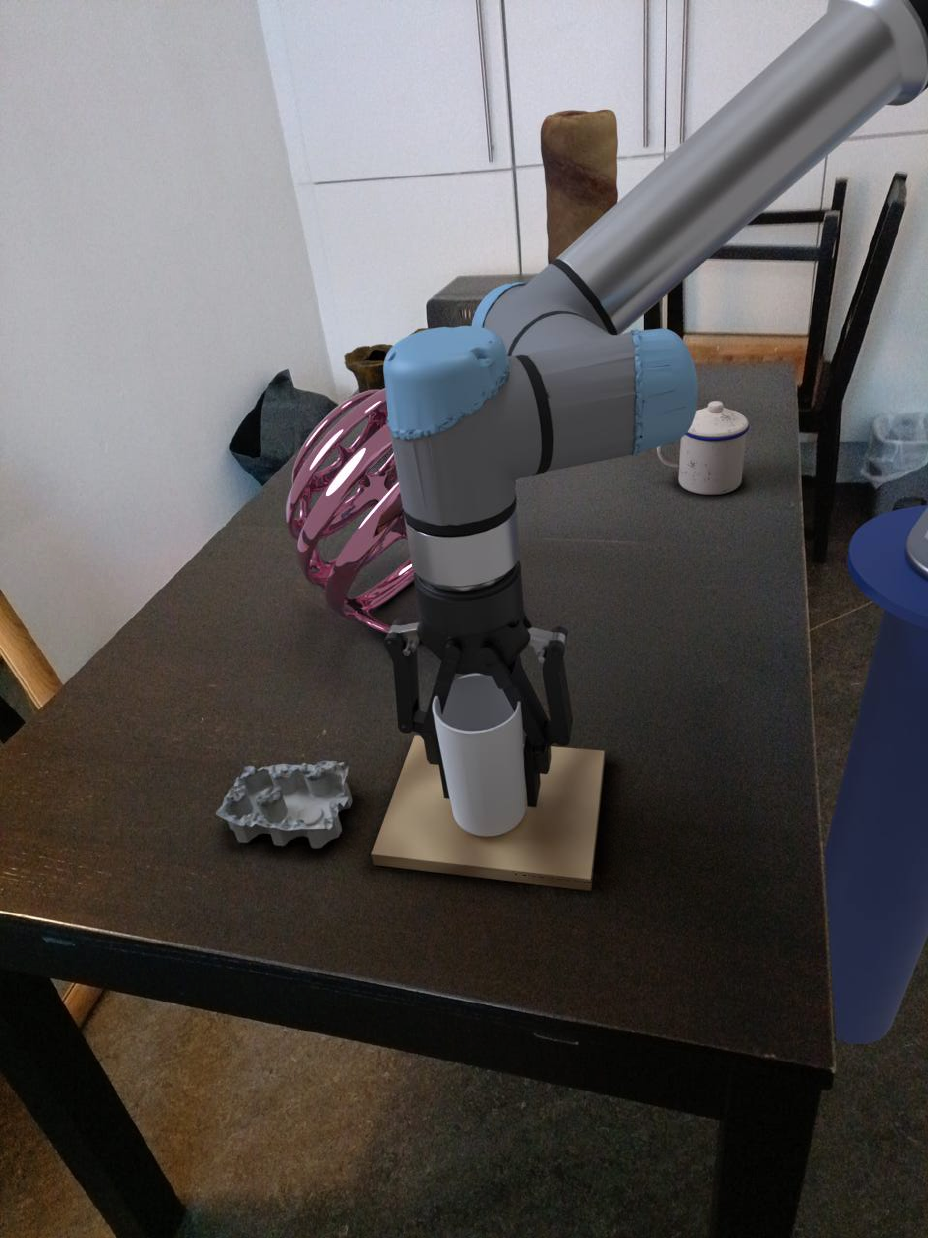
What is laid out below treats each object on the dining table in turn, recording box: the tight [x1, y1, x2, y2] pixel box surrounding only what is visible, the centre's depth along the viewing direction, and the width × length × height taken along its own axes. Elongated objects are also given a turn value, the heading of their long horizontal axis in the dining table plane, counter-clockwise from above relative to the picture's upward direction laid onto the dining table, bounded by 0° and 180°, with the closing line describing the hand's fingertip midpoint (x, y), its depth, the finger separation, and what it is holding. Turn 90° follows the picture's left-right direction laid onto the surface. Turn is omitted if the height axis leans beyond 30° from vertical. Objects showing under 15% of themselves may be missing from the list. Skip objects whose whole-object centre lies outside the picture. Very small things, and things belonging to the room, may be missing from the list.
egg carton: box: [215, 760, 353, 849], centre depth 73 cm, size 11×8×4 cm
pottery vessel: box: [343, 327, 434, 420], centre depth 128 cm, size 25×11×20 cm, turn 89°
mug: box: [433, 673, 526, 837], centre depth 67 cm, size 10×7×12 cm, turn 165°
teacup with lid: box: [656, 400, 750, 496], centre depth 113 cm, size 12×9×12 cm
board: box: [370, 734, 606, 892], centre depth 71 cm, size 18×14×2 cm
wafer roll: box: [540, 109, 619, 266], centre depth 123 cm, size 10×11×45 cm
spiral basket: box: [285, 388, 414, 635], centre depth 91 cm, size 28×28×27 cm
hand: (492, 790), depth 70 cm, fingers closed on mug, 6 cm apart
